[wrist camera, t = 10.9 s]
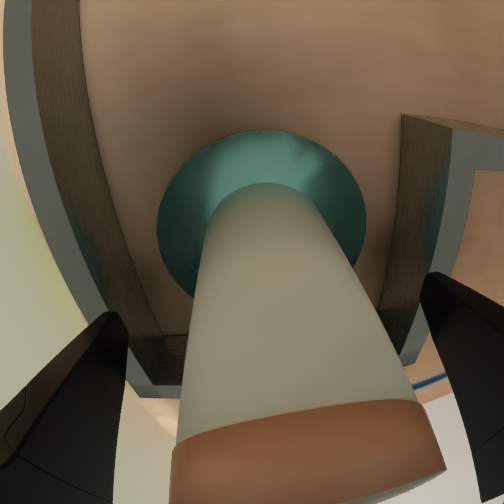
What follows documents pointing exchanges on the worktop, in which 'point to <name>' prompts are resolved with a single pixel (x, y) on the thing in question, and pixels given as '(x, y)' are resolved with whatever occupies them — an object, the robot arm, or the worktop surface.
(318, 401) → the peg
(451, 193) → the channel
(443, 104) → the worktop surface
